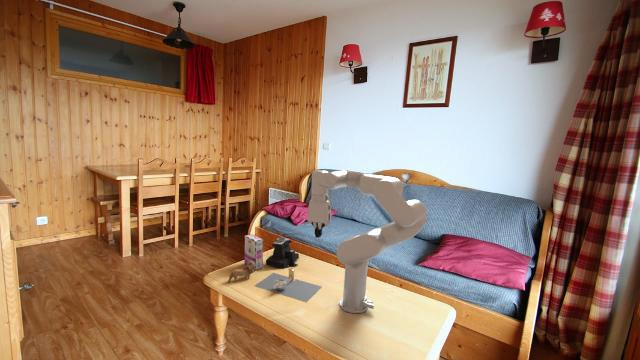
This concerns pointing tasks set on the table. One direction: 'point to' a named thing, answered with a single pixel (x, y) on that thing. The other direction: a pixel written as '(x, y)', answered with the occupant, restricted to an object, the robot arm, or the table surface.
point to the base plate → (290, 287)
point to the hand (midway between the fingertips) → (318, 236)
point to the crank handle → (284, 281)
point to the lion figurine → (243, 271)
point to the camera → (282, 254)
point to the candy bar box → (254, 251)
